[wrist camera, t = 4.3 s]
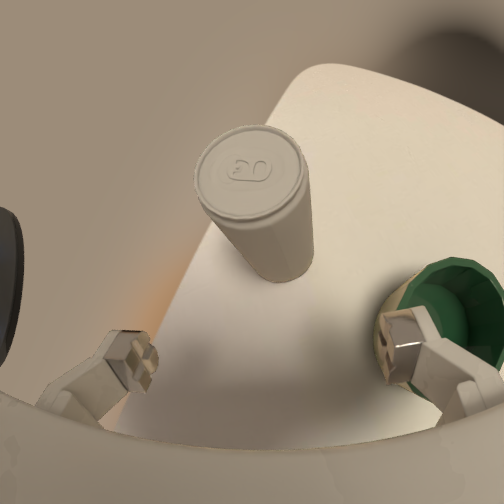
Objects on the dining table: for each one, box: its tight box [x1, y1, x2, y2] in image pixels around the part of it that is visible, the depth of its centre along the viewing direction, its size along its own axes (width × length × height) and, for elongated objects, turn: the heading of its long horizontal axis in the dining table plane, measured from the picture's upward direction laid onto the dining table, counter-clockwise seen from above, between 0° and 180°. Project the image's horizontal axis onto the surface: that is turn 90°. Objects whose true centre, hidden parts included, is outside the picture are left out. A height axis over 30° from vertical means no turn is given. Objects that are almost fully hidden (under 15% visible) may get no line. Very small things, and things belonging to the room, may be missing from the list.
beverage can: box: [194, 125, 314, 282], centre depth 17 cm, size 5×5×12 cm
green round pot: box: [373, 257, 504, 403], centre depth 16 cm, size 8×8×6 cm
